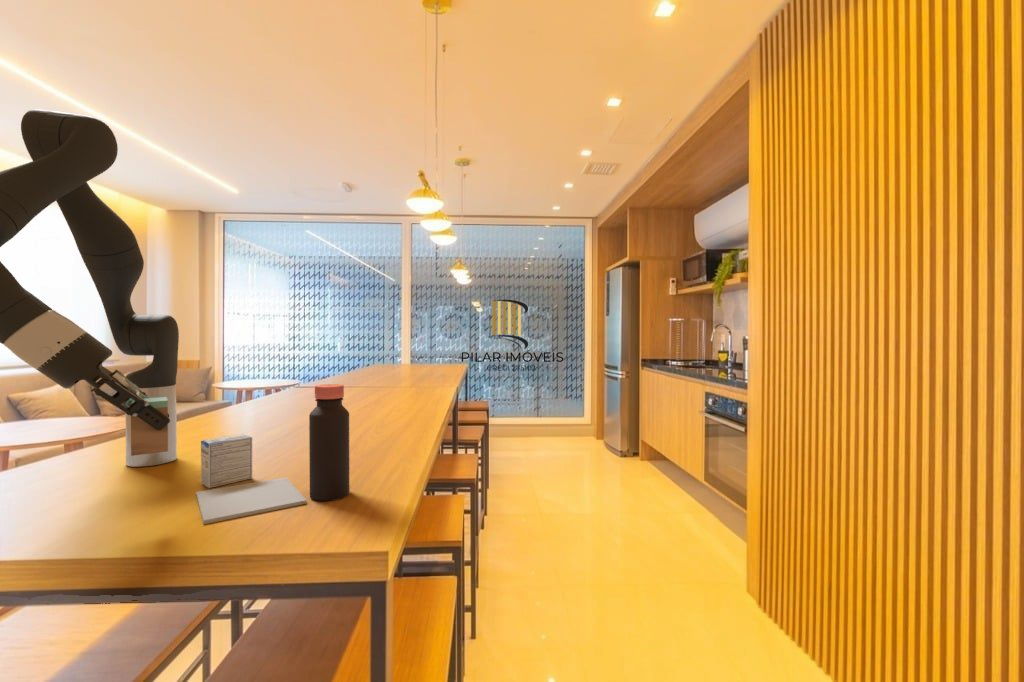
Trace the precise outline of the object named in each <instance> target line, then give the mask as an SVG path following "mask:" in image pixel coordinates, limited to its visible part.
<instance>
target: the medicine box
mask: <svg viewBox="0 0 1024 682" xmlns="http://www.w3.org/2000/svg"><path fill="white" fill-rule="evenodd" d="M200 462H201V463H200V471H201V474H200V475H201V477H200V478H201V479H200V480H201V484H202V485H204V487H207V488H208V489H211V488H212V489H213V488H215V487H216V488H217V487H220V486H224V485H230V484H233V483H237V482H241V481H247V480H251V479H253V437H252V436H250V435H248V434H245V433H238V434H233V435H232V434H231V435H226V436H221V437H220V436H219V437H212V438H209V439H208V438H207V439H202V440H201V441H200Z"/></svg>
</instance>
